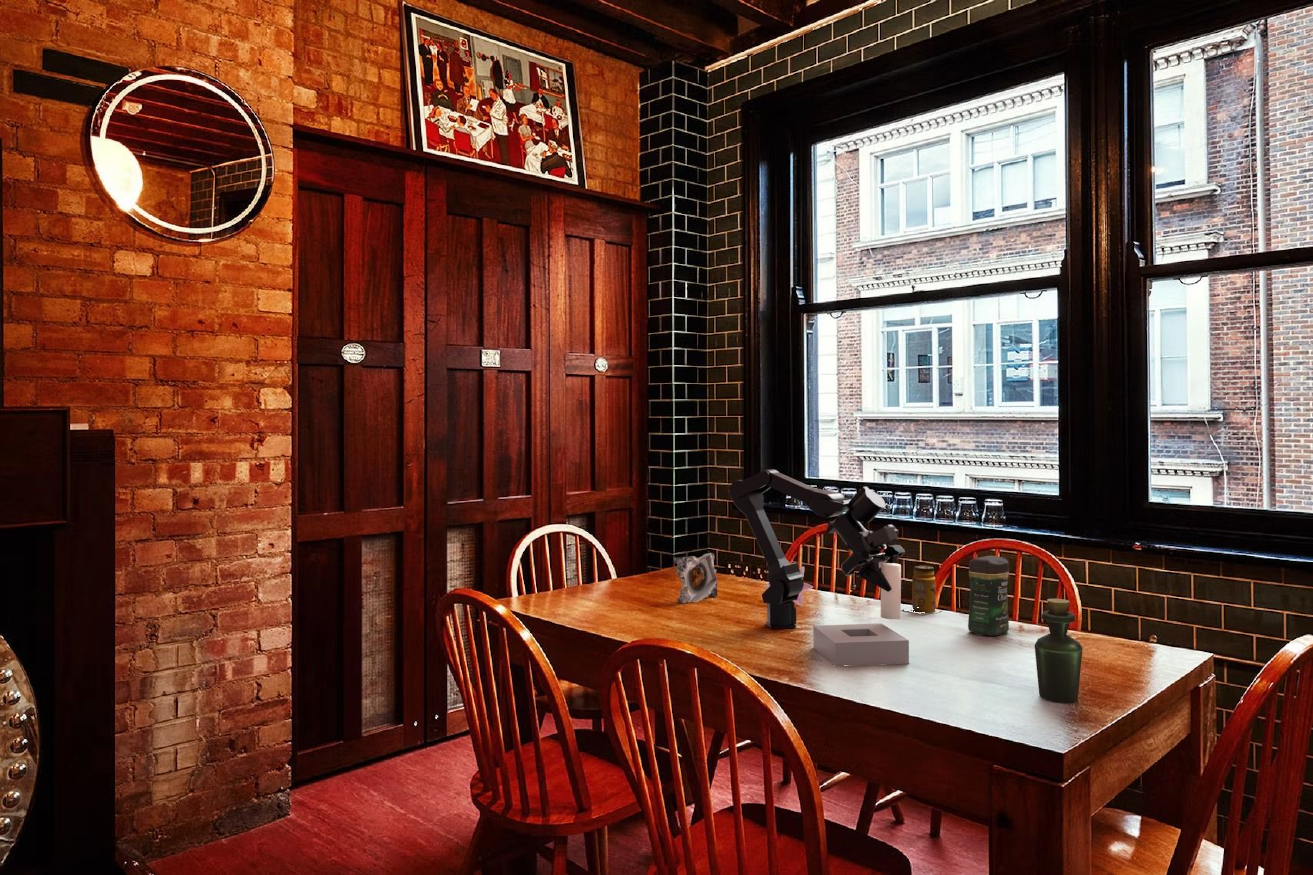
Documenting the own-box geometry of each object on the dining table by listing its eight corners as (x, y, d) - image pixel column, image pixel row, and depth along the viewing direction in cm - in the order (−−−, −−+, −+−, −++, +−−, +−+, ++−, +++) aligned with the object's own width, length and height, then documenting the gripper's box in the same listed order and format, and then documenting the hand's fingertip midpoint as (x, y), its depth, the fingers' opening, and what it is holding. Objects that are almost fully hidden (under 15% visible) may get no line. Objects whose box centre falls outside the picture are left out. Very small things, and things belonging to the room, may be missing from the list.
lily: (761, 604, 254) (762, 578, 249) (785, 583, 262) (786, 558, 257) (796, 622, 247) (797, 596, 242) (819, 600, 254) (821, 574, 250)
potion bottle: (1031, 689, 167) (1031, 595, 167) (1078, 693, 165) (1078, 597, 165) (1037, 702, 160) (1037, 603, 159) (1086, 706, 157) (1086, 606, 157)
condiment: (942, 611, 238) (942, 567, 238) (921, 615, 233) (921, 570, 233) (920, 607, 244) (920, 563, 244) (900, 610, 239) (899, 566, 239)
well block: (835, 666, 184) (835, 642, 184) (813, 647, 200) (813, 625, 200) (908, 663, 186) (908, 640, 186) (881, 645, 202) (881, 623, 202)
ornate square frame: (706, 595, 263) (706, 551, 263) (717, 597, 260) (717, 553, 260) (673, 603, 252) (673, 557, 252) (684, 605, 249) (684, 558, 249)
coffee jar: (993, 638, 207) (993, 560, 207) (963, 632, 213) (962, 556, 213) (1014, 632, 213) (1014, 555, 213) (984, 626, 219) (984, 552, 219)
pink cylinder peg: (885, 619, 198) (885, 566, 198) (877, 615, 203) (877, 563, 202) (903, 618, 199) (904, 566, 199) (895, 614, 203) (896, 562, 203)
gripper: (852, 516, 197) (895, 572, 189) (898, 510, 210) (940, 562, 202) (823, 547, 203) (864, 603, 195) (869, 540, 216) (909, 591, 208)
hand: (895, 589), depth 200 cm, fingers closed on pink cylinder peg, 4 cm apart
